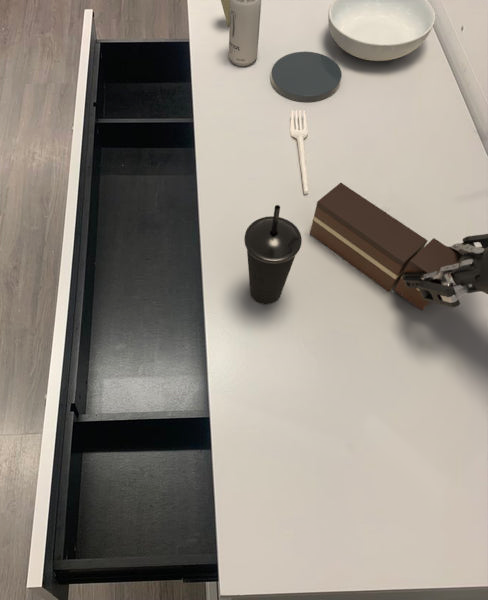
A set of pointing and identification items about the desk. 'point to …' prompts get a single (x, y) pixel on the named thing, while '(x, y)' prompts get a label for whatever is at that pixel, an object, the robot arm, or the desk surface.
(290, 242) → the drinking cup
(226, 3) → the ice cream cone
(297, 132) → the fork
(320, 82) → the plate
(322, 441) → the desk surface
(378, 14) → the serving bowl
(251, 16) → the energy drink can
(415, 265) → the cake slice
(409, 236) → the loaf cake
